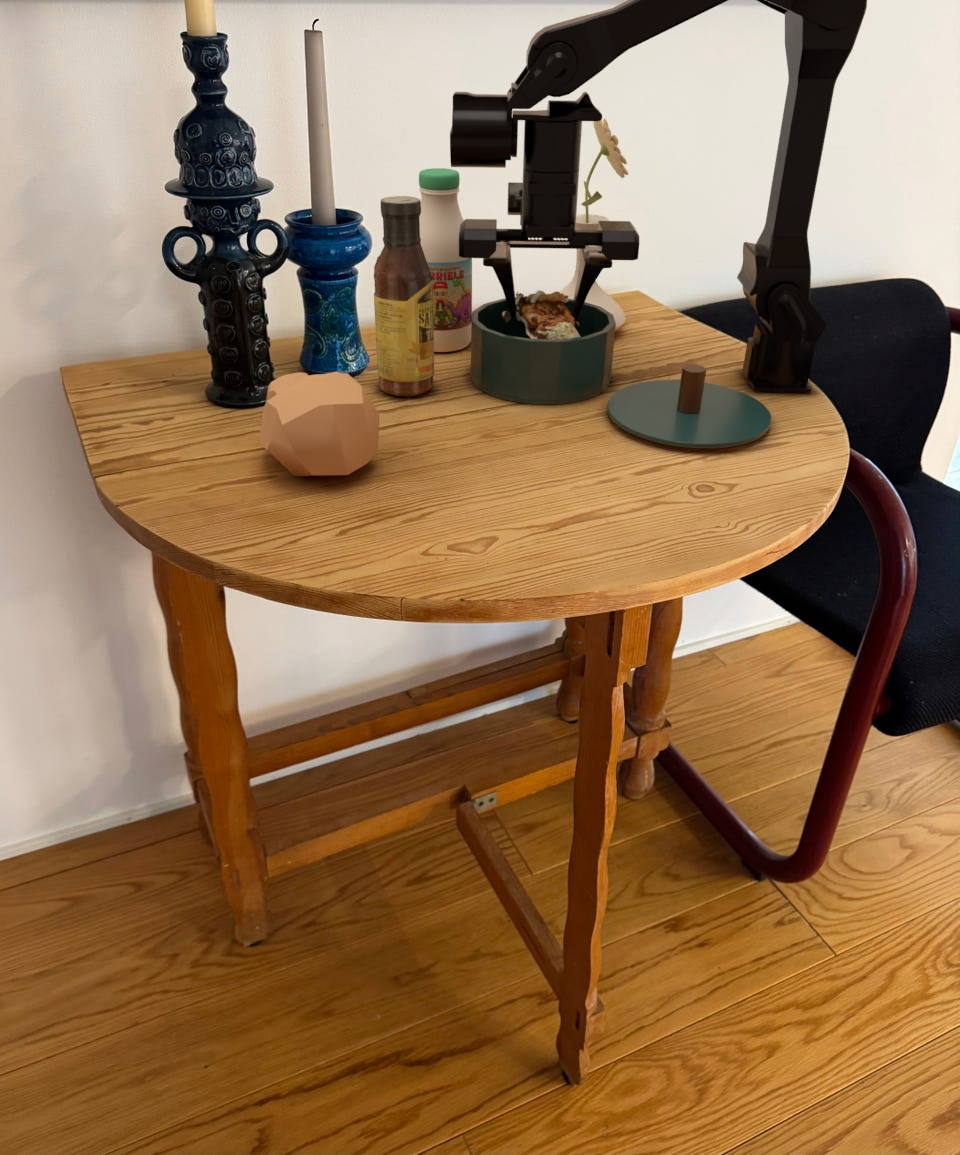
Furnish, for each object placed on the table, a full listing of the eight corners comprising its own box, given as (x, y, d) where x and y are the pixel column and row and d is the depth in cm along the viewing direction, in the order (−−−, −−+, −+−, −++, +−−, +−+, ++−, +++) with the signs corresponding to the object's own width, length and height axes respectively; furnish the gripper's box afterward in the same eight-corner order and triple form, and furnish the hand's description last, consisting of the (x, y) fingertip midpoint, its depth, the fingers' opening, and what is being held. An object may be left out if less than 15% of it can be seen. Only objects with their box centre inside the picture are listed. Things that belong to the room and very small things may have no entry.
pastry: (544, 350, 100) (545, 316, 98) (498, 317, 109) (498, 285, 107) (602, 341, 102) (605, 308, 100) (552, 309, 111) (554, 278, 109)
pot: (602, 355, 115) (607, 297, 111) (616, 406, 102) (622, 342, 98) (472, 352, 115) (473, 294, 112) (469, 403, 102) (469, 339, 98)
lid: (749, 390, 106) (758, 341, 103) (787, 455, 92) (799, 402, 89) (599, 387, 106) (604, 338, 103) (614, 452, 92) (620, 398, 89)
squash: (289, 508, 83) (257, 411, 78) (247, 444, 99) (218, 362, 95) (404, 467, 85) (379, 372, 81) (343, 412, 102) (320, 331, 97)
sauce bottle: (432, 400, 103) (429, 207, 92) (375, 398, 103) (365, 206, 92) (436, 377, 108) (434, 193, 97) (381, 376, 108) (373, 192, 97)
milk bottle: (402, 335, 120) (397, 166, 109) (461, 330, 122) (462, 163, 111) (418, 356, 114) (414, 178, 103) (479, 350, 116) (481, 175, 105)
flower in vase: (619, 348, 117) (640, 126, 104) (528, 339, 119) (538, 121, 106) (630, 316, 128) (650, 111, 114) (546, 309, 130) (557, 107, 116)
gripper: (633, 156, 103) (620, 299, 112) (462, 153, 103) (462, 296, 112) (646, 175, 94) (631, 330, 102) (458, 172, 94) (458, 327, 102)
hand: (544, 319), depth 105 cm, fingers closed on pastry, 6 cm apart
